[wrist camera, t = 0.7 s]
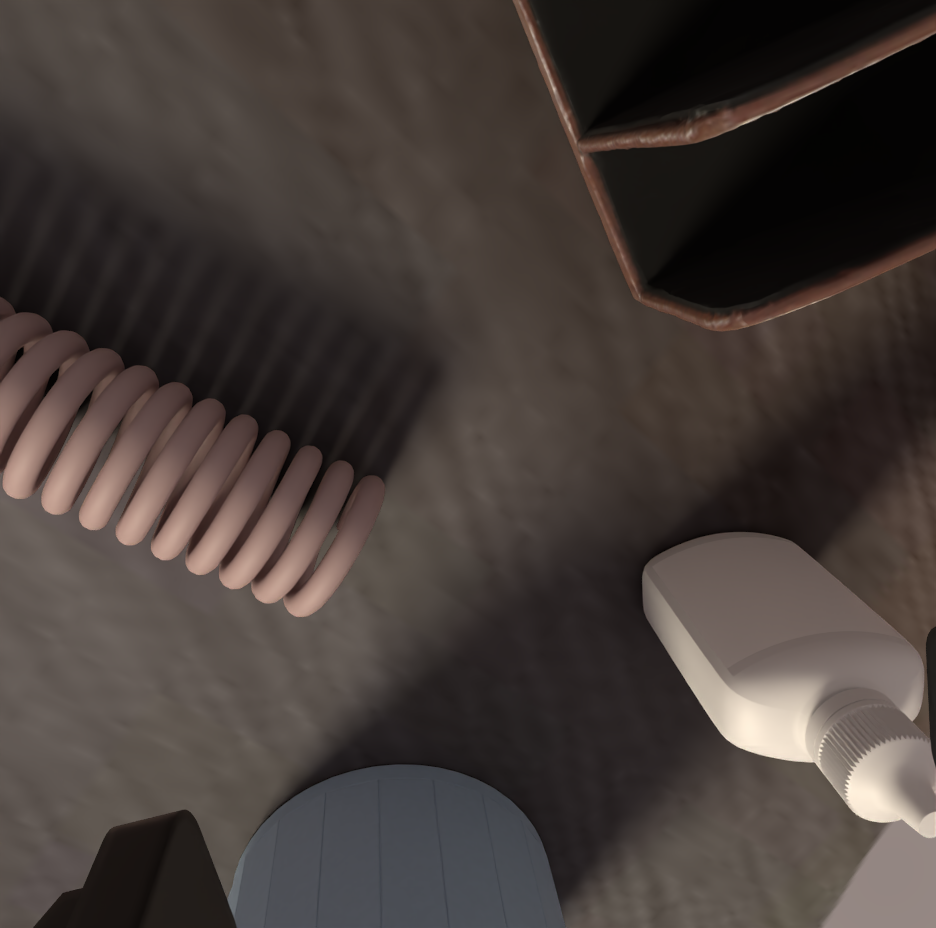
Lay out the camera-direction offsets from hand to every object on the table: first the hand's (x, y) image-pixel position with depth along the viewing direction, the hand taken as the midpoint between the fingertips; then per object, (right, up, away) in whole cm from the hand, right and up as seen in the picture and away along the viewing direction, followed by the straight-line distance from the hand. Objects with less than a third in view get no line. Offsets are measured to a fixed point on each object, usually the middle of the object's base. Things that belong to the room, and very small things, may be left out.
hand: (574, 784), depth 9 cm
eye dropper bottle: (+7, 0, +20) cm, 22 cm away
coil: (-12, +5, +16) cm, 21 cm away
